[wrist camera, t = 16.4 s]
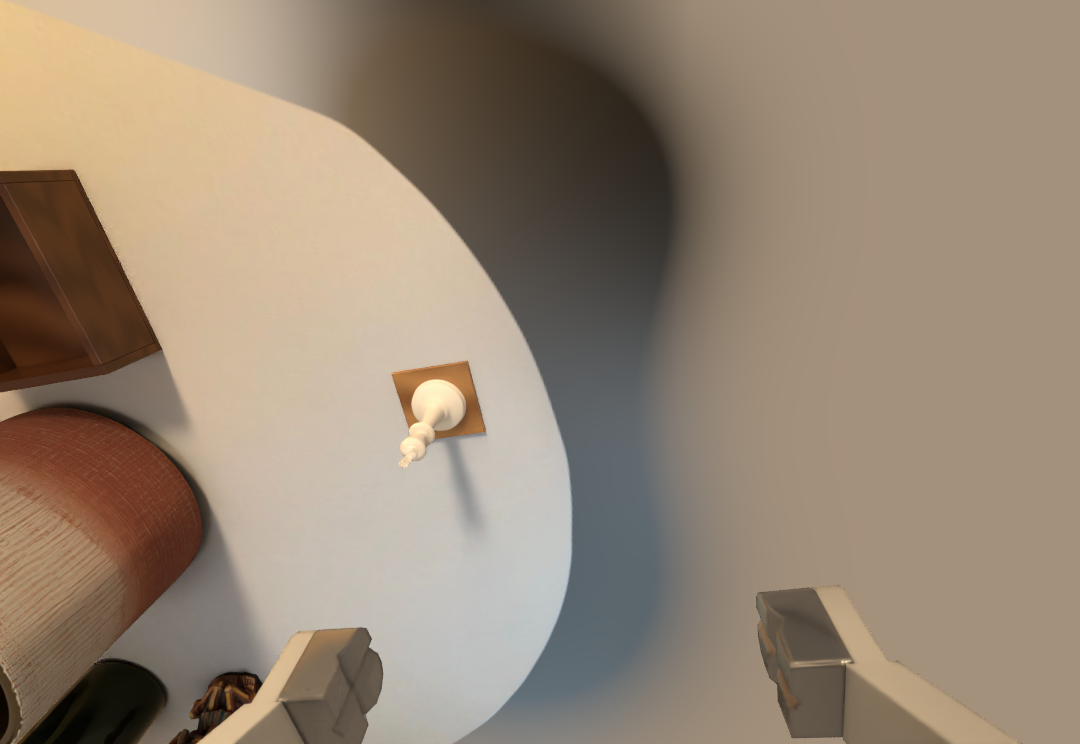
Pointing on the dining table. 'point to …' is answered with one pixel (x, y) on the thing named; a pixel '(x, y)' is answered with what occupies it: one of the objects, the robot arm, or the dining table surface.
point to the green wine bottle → (101, 708)
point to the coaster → (452, 374)
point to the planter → (79, 548)
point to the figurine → (219, 704)
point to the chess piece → (431, 416)
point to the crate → (61, 287)
